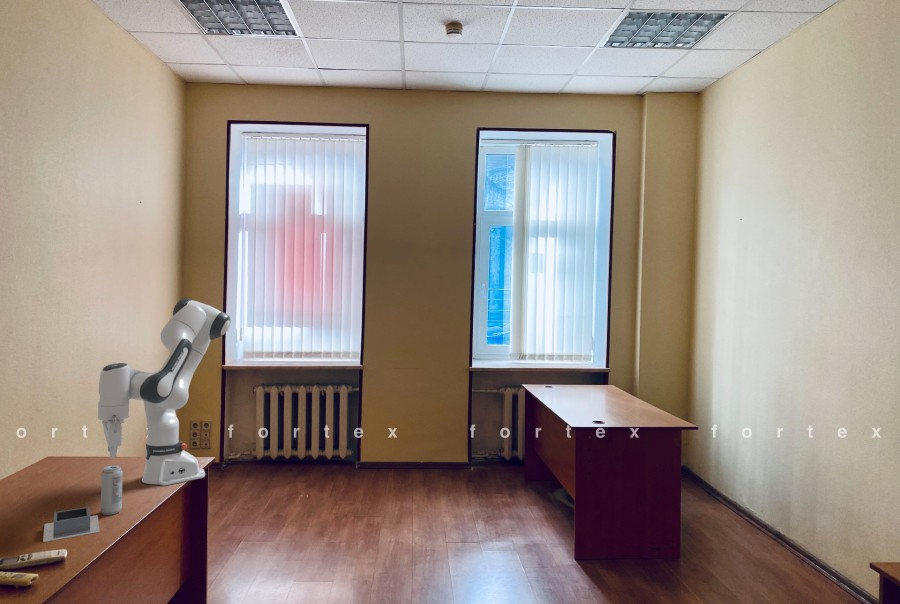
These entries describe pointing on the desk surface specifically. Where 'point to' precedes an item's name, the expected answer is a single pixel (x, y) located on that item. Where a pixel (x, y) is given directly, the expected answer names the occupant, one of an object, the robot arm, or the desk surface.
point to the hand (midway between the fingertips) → (111, 454)
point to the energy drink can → (111, 490)
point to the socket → (71, 524)
